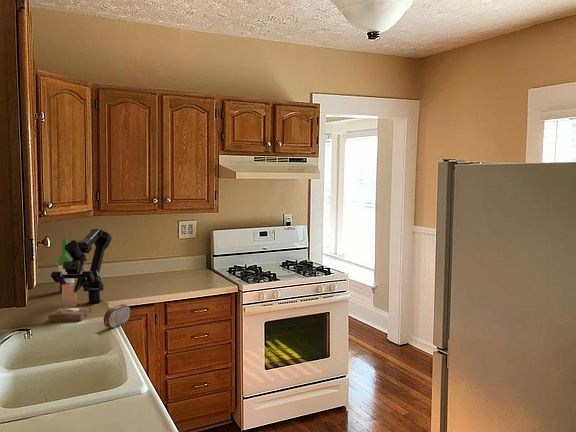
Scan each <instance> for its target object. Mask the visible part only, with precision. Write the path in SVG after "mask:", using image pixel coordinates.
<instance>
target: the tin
mask: <svg viewBox="0 0 576 432" xmlns="http://www.w3.org/2000/svg"><path fill="white" fill-rule="evenodd" d="M131 313H132V312H131V307H130V306H129V305H127V304H120V305H116V306H113V307H110V308H108V309H107V311H106V312H105V313H104V314H103V315H104V316H103V324H104V326H105V327H106V329H108V328H109V329H115V328H117V327H120V326H122V325H124V324H126V323H128V322H129V321H130V318H131Z"/></svg>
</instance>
